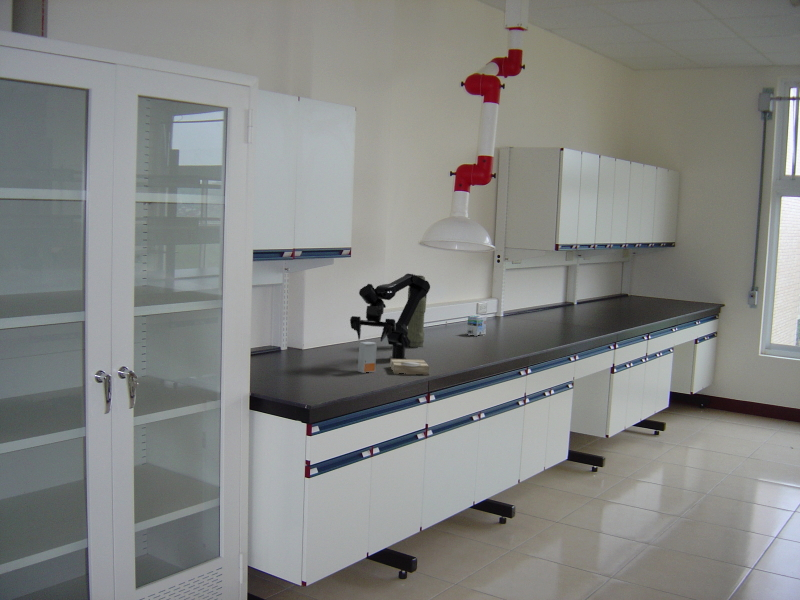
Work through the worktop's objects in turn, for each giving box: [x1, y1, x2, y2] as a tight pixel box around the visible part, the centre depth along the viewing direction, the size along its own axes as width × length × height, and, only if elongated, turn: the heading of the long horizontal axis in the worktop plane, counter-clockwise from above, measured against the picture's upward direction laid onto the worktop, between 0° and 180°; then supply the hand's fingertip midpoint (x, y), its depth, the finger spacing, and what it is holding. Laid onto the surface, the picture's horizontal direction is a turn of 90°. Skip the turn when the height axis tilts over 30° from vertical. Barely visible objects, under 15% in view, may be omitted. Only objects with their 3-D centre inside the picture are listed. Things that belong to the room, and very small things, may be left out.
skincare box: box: [357, 341, 378, 374], centre depth 301 cm, size 6×4×12 cm
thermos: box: [407, 274, 428, 348], centre depth 367 cm, size 9×12×35 cm
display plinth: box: [389, 358, 430, 376], centre depth 308 cm, size 15×14×4 cm
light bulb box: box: [466, 314, 488, 335], centre depth 417 cm, size 11×7×11 cm, turn 147°
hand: (369, 340), depth 306 cm, fingers open, 9 cm apart
